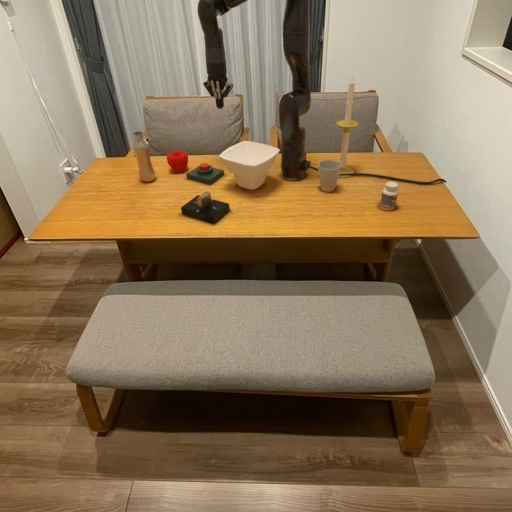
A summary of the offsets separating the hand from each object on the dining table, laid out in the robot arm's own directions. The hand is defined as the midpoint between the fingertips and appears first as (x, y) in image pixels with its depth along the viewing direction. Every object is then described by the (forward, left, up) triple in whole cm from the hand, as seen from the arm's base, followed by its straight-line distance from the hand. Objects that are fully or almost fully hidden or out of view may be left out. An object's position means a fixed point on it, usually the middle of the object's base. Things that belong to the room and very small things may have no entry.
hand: (220, 108), depth 153 cm
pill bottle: (-71, +2, -25) cm, 75 cm away
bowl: (-19, +10, -25) cm, 33 cm away
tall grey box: (-15, +35, -22) cm, 44 cm away
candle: (-47, -17, -25) cm, 56 cm away
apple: (+16, +12, -25) cm, 32 cm away
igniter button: (+2, +12, -21) cm, 25 cm away
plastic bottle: (+22, +25, -25) cm, 42 cm away
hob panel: (-15, +35, -25) cm, 46 cm away
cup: (-47, -1, -25) cm, 53 cm away
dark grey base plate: (+2, +12, -25) cm, 28 cm away
